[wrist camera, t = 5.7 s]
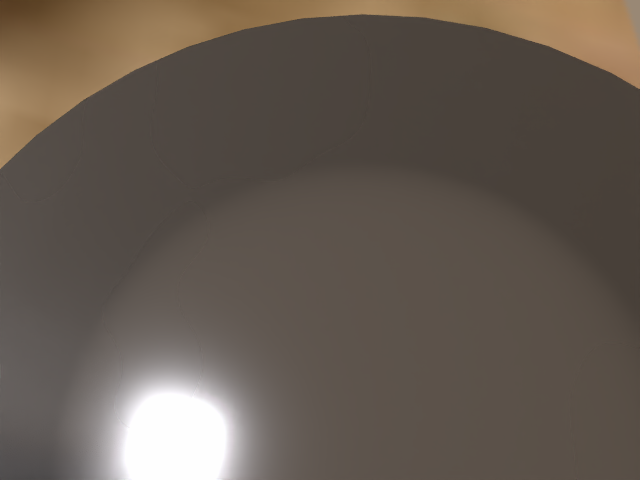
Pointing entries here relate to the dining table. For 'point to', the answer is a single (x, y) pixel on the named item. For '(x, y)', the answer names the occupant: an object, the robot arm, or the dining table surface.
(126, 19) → the dining table surface
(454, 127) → the coffee tin
